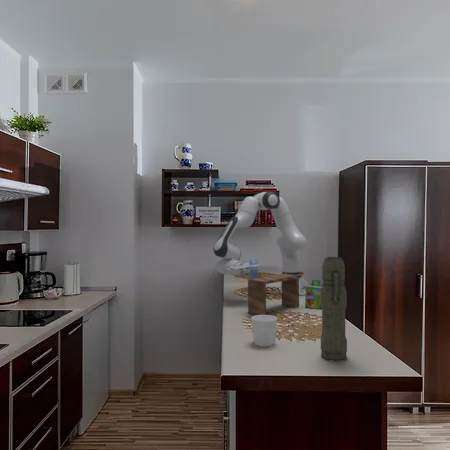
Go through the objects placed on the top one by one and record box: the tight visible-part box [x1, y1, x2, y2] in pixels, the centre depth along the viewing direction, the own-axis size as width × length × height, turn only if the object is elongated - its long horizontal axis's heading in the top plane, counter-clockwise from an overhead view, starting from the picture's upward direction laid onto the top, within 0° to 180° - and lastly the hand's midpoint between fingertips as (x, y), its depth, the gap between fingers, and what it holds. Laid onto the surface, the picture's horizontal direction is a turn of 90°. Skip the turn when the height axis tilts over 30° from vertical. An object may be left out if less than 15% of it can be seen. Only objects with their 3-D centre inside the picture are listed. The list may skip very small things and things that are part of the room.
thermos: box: [320, 256, 348, 362], centre depth 137 cm, size 9×12×35 cm
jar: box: [248, 259, 259, 280], centre depth 218 cm, size 5×5×12 cm
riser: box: [247, 273, 300, 316], centre depth 207 cm, size 30×10×18 cm, turn 133°
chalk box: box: [304, 279, 322, 310], centre depth 214 cm, size 9×9×15 cm
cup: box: [250, 314, 278, 347], centre depth 153 cm, size 10×10×10 cm
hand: (254, 270), depth 217 cm, fingers closed on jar, 5 cm apart
